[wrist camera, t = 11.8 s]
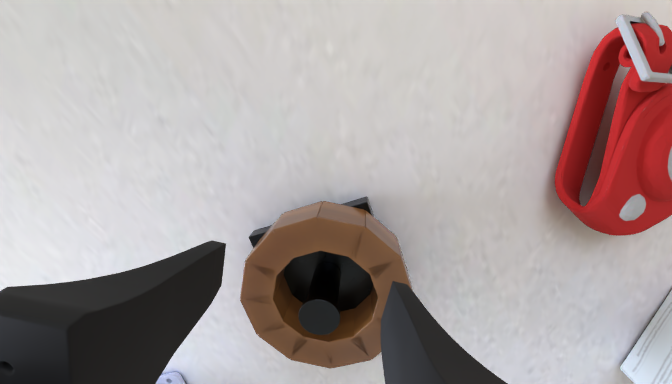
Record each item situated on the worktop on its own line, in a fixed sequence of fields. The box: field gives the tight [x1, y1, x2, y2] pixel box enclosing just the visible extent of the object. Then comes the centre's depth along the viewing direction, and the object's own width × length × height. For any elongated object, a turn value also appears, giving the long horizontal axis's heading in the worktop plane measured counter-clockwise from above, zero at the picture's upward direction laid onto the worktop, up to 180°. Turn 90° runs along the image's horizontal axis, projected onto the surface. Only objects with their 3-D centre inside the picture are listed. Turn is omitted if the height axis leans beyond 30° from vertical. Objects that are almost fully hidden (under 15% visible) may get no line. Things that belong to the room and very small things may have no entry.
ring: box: [240, 201, 412, 368], centre depth 22 cm, size 11×11×3 cm
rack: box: [249, 197, 374, 335], centre depth 22 cm, size 9×9×6 cm
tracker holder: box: [555, 12, 672, 235], centre depth 19 cm, size 12×4×10 cm
